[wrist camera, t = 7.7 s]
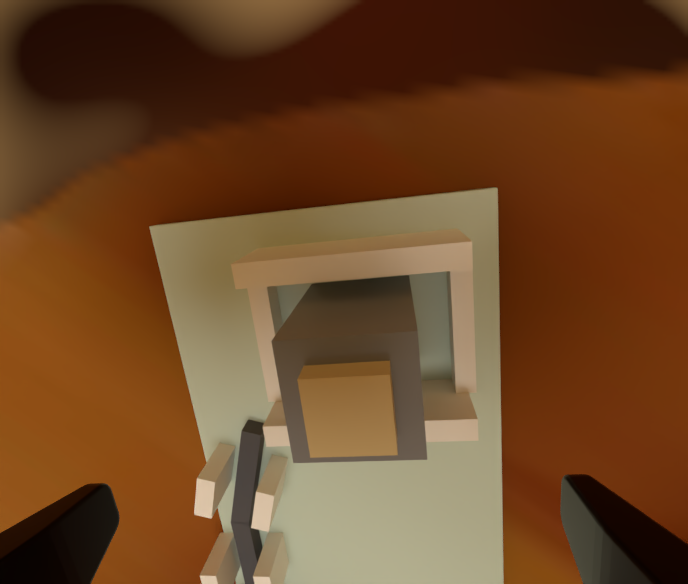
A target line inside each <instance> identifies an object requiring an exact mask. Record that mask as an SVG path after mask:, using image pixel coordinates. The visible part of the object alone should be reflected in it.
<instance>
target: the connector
mask: <svg viewBox="0 0 688 584" xmlns="http://www.w3.org/2000/svg"><path fill="white" fill-rule="evenodd" d="M271 342H272V348H273V354H274V359H275V365H276V370H277V376H278V381H279V387H280V392H281V398H282V403H283V409H284V414H285V420H286V425H287V431H288V436H289V442H290V448H291V453H292V459H293V463H321V462H359V461H398V460H427V446H426V433H425V420H424V407H423V394H422V381H421V368H420V355H419V342H418V330H417V324H416V317H415V311H414V304H413V298H412V292H411V285H410V279H409V275H406V276H395V277H384V278H372V279H361V280H350V281H339V282H327V283H316V284H311V286H310V287H309V288H308V290H307V291H306V293H305V294H304V296H303V297H302V298H301V300H300V301H299V303H298V304H297V305H296V307H295V308H294V310H293V311H292V312H291V314H290V315H289V317H288V318H287V320H286V321H285V322H284V324H283V325H282V327H281V328H280V329H279V331H278V332H277V334H276V335H275V337H274V338H273V339H272V341H271Z"/></svg>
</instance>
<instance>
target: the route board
mask: <svg viewBox="0 0 688 584" xmlns="http://www.w3.org/2000/svg"><path fill="white" fill-rule="evenodd" d="M149 228H150V232H151V236H152V240H153V244H154V248H155V253H156V257H157V261H158V265H159V269H160V273H161V277H162V281H163V285H164V290H165V294H166V298H167V302H168V306H169V310H170V314H171V318H172V322H173V326H174V331H175V335H176V339H177V343H178V347H179V351H180V355H181V359H182V363H183V367H184V372H185V376H186V380H187V384H188V388H189V392H190V396H191V400H192V404H193V409H194V413H195V417H196V421H197V425H198V429H199V433H200V437H201V441H202V445H203V450H204V454H205V458H206V462H208V460H209V459H210V457H211V455H212V454H213V452H214V451H215V449H216V448H217V446H218V444H219V443H223V444H227V445H232V446H235V455H234V464H233V473H232V480H231V482H230V484H229V486H228V488H227V490H226V492H225V494H224V495H223V497H222V499H221V501H220V503H219V505H218V511H219V515H220V519H221V523H222V528H223V532H224V533H233V530H232V526H231V515H232V507H233V498H234V490H235V481H236V473H237V464H238V456H239V447H240V439H241V431H242V429H243V427H244V426H245V424H246V422H247V420H248V419H249V420H253V421H258V422H262V423H265V421H266V419H267V417H268V415H269V413H270V411H271V409H272V407H273V405H274V403H275V402H268V397H267V392H266V387H265V381H264V376H263V370H262V365H261V360H260V354H259V349H258V344H257V338H256V333H255V328H254V322H253V317H252V312H251V306H250V301H249V296H248V290H247V288H246V289H235V283H234V278H233V273H232V268H231V264H232V263H233V262H235V261H237V260H239V259H240V258H242V257H244V256H245V255H247V254H249V253H251V252H252V251H254V250H256V249H257V248H265V247H275V246H285V245H295V244H305V243H315V242H326V241H336V240H346V239H356V238H366V237H376V236H386V235H396V234H406V233H416V232H427V231H437V230H447V229H457V228H458V229H459V230H460V231H461V232H462V233H463V234H464V235H466V236H467V237H468V238H469V239H470V240H471V241H472V254H473V296H474V327H475V358H476V389H477V393H469V395H470V398H471V401H472V404H473V406H474V409H475V412H476V415H477V418H478V441H449V442H426V446H427V460H398V461H359V462H321V463H293V459H292V453H291V448H290V446H275V447H266V442H265V439H264V446H263V454H262V461H261V468H260V475H259V482H258V486H259V484H260V481H261V479H262V476H263V474H264V472H265V469H266V467H267V465H268V462H269V460H270V458H271V455H276V456H281V457H285V458H288V461H287V467H286V474H285V480H284V486H283V492H282V495H281V498H280V501H279V503H278V506H277V509H276V512H275V515H274V518H273V521H272V524H271V527H270V530H269V532H266V531H262V530H259V533H260V537H261V542H262V547H263V546H264V543H265V540H266V537H267V534H268V533H283V536H284V541H285V546H286V551H287V556H288V561H289V565H288V568H287V572H286V576H285V580H284V584H503V515H502V446H501V377H500V308H499V239H498V188H496V187H492V188H483V189H474V190H465V191H456V192H447V193H438V194H429V195H420V196H411V197H402V198H393V199H384V200H375V201H366V202H357V203H348V204H339V205H330V206H321V207H312V208H303V209H294V210H285V211H276V212H267V213H258V214H249V215H240V216H231V217H222V218H213V219H204V220H195V221H186V222H177V223H168V224H159V225H154V226H149ZM398 276H406V275H398ZM387 277H395V276H387ZM375 278H384V277H375ZM363 279H372V278H363ZM409 279H410V285H411V292H412V298H413V304H414V311H415V317H416V324H417V330H418V342H419V355H420V368H421V380H441V379H452V372H451V352H450V332H449V312H448V292H447V272H446V271H445V272H433V273H422V274H410V275H409ZM351 280H361V279H351ZM340 281H350V280H340ZM328 282H339V281H328ZM316 283H327V282H316ZM316 283H304V284H293V285H281V286H276V288H277V294H278V300H279V306H280V312H281V318H282V324H284V322H285V321H286V320H287V318H288V317H289V315H290V314H291V312H292V311H293V310H294V308H295V307H296V305H297V304H298V303H299V301H300V300H301V298H302V297H303V296H304V294H305V293H306V291H307V290H308V288H309V287H310V286H311V284H316ZM235 581H236V584H245V581H244V577H243V573H242V568H241V566H240V568H239V571H238V573H237V576H236V579H235Z"/></svg>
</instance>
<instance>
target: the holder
mask: <svg viewBox="0 0 688 584" xmlns="http://www.w3.org/2000/svg"><path fill="white" fill-rule="evenodd" d="M231 268H232V273H233V278H234V283H235V289H246V288H247V290H248V296H249V301H250V306H251V312H252V317H253V322H254V328H255V333H256V338H257V344H258V349H259V354H260V360H261V365H262V370H263V376H264V381H265V387H266V392H267V397H268V402H275V403H274V405H273V407H272V409H271V411H270V413H269V415H268V417H267V419H266V421H265V423H264V425H263V432H264V437H265V442H266V447H275V446H290V442H289V436H288V431H287V425H286V420H285V414H284V409H283V403H282V398H281V392H280V387H279V381H278V376H277V370H276V365H275V359H274V354H273V348H272V342H271V341H272V339H273V338H274V337H275V335H276V334H277V332H278V331H279V329H280V328H281V327H282V325H283V324H282V318H281V312H280V306H279V300H278V294H277V288H276V286H281V285H293V284H304V283H316V282H328V281H340V280H351V279H363V278H375V277H387V276H398V275H410V274H422V273H433V272H445V271H446V272H447V292H448V312H449V332H450V352H451V372H452V379H441V380H421V381H422V394H423V407H424V420H425V433H426V442H449V441H478V418H477V415H476V412H475V409H474V406H473V404H472V401H471V398H470V395H469V393H477V389H476V358H475V327H474V296H473V254H472V241H471V240H470V239H469V238H468V237H467V236H466V235H464V234H463V233H462V232H461V231H460V230H459V229H458V228H457V229H447V230H437V231H427V232H416V233H406V234H396V235H386V236H376V237H366V238H356V239H346V240H336V241H326V242H315V243H305V244H295V245H285V246H275V247H265V248H257V249H256V250H254V251H252V252H251V253H249V254H247V255H245V256H244V257H242V258H240V259H239V260H237V261H235V262H233V263H232V264H231Z"/></svg>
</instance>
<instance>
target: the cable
mask: <svg viewBox="0 0 688 584" xmlns="http://www.w3.org/2000/svg"><path fill="white" fill-rule="evenodd" d="M263 425H264V423H262V422H258V421H253V420H249V419H248V420H247V422H246V424H245V426H244V427H243V429H242V431H241V439H240V447H239V456H238V464H237V473H236V481H235V490H234V498H233V507H232V515H231V526H232V530H233V534H234V539H235V543H236V547H237V551H238V556H239V560H240V564H241V568H242V573H243V577H244V581H245V584H254V579H253V575H254V572H255V569H256V566H257V563H258V560H259V557H260V554H261V551H262V548H263V547H262V542H261V537H260V533H259V530H258V529H254V528H251V525H252V517H253V510H254V503H255V496H256V491H257V488H258V482H259V475H260V468H261V461H262V454H263V446H264V439H265V437H264V432H263Z"/></svg>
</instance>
